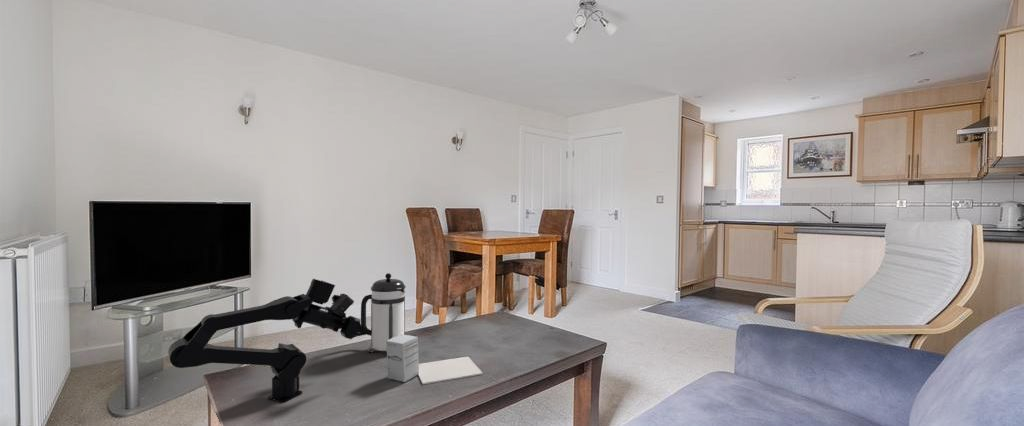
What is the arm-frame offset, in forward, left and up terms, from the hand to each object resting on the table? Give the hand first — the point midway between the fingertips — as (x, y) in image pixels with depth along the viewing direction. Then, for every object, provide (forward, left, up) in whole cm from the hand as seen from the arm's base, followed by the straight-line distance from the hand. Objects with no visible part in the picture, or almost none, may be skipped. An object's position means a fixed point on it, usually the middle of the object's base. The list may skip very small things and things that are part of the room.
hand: (364, 328), depth 134 cm
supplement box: (+3, -14, -15) cm, 21 cm away
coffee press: (+21, +8, -15) cm, 27 cm away
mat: (+13, -24, -15) cm, 31 cm away
